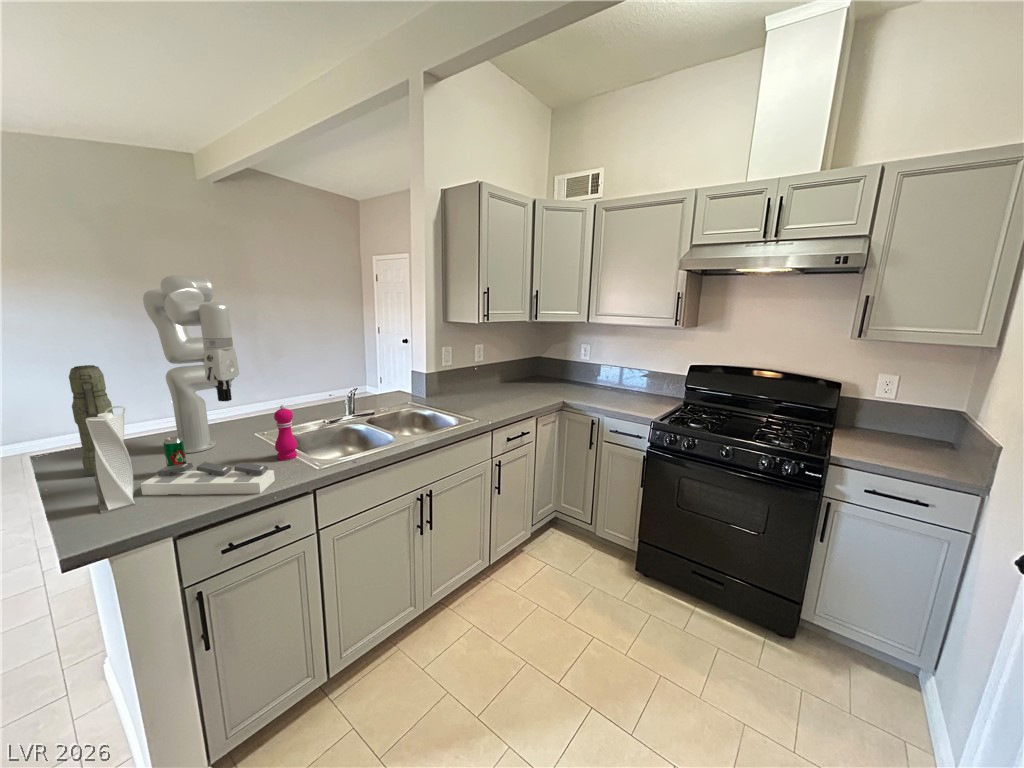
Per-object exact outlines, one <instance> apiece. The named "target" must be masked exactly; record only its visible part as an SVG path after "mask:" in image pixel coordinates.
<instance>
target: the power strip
mask: <svg viewBox="0 0 1024 768" xmlns="http://www.w3.org/2000/svg"><path fill="white" fill-rule="evenodd" d="M275 480H276V479H275V470H272V469H268V470H267V471H266V472H265V473H264V474H262V475H257V474H251V473H250V474H249V475H247V474H246V473H244V472H237V471H234V470H231V472H229V473H228V474H226V475H225V476H220V475H215V474H212V475H209V474H208V473H205V472H200V471H196V470H187V471H185V472H180V473H176V474H174V475H170V474H168V475H162V476H158V474H157V473H156V475H154V476H152V477H150V478H149V479H146V480H145V481H144V482H141V483H140V488H141V489H140V490H141V495H142V496H160V495H161V496H166V495H168V494H181V495H236V494H237V495H238V494H239V495H240V494H243V495H247V494H249V495H251V494H252V495H254V494H262V493H263V492H264V491H265V490H266V489H268V487H269V486H270V485H272V484H273V483H274V481H275Z"/></svg>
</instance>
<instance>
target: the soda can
mask: <svg viewBox="0 0 1024 768" xmlns="http://www.w3.org/2000/svg"><path fill="white" fill-rule="evenodd" d="M162 444H163V449H164V450H163V451H164V456H165V464H166V467H168V466H175V465H181V464H187V456H186V453H185V448H184V441H183V439H182V438H181V437H180V436H178V435H177V436H169V437H167V438H165V439H164V441H163V443H162Z"/></svg>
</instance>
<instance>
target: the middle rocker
mask: <svg viewBox="0 0 1024 768" xmlns="http://www.w3.org/2000/svg"><path fill="white" fill-rule="evenodd" d="M195 471H200V472H205V473H208V474H209V475H212V474H215V475H220V476H225V475H226V474H228V473H229V472H231V471H232V467H231V466H227V465H223V464H218V463H212V462H208V461H204V462H202V463H200V464H199V465H197V466H196V470H195Z"/></svg>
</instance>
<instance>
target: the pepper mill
mask: <svg viewBox="0 0 1024 768" xmlns="http://www.w3.org/2000/svg"><path fill="white" fill-rule="evenodd" d="M273 415H274V416H273V418H274V420H275V422H276V424H275V425H276V428H277V429H278V434H277V438H276V439H275V440H276V441H275V443H274V449H275V450H276V452H277V454H276V455H277V459H278V460H279V461H290V460H293V459H295V458H297V457H298V456H297V455H298V454H297V453H298V452H297V450H296V449H297V448H298V441H297V439H296V438H295V437H294V435H293V431H292V426H293V421H292V420H293V419H294V413H293V412H292V410H291V409H289V408H287V407H286V405H285V404H280V406H279V409H277V410H276V411H274V414H273Z"/></svg>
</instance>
